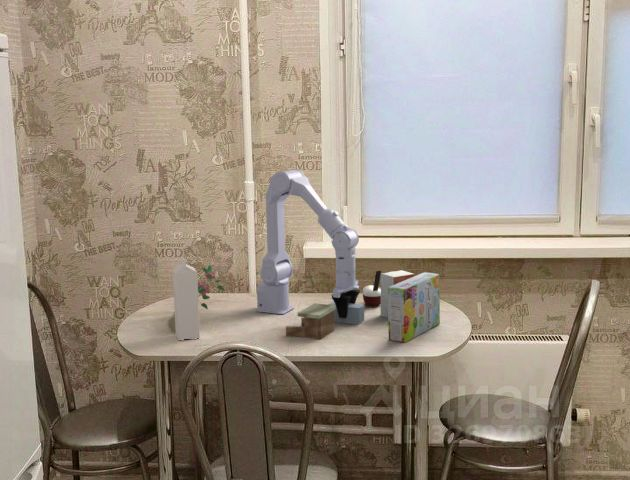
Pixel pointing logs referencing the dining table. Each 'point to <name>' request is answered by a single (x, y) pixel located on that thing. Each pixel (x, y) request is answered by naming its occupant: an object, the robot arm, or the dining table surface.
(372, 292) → the cocoa
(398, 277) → the small box
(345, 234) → the robot arm
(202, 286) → the flower vase
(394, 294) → the snack box
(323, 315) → the awning socket
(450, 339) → the dining table surface
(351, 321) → the peg
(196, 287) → the milk
